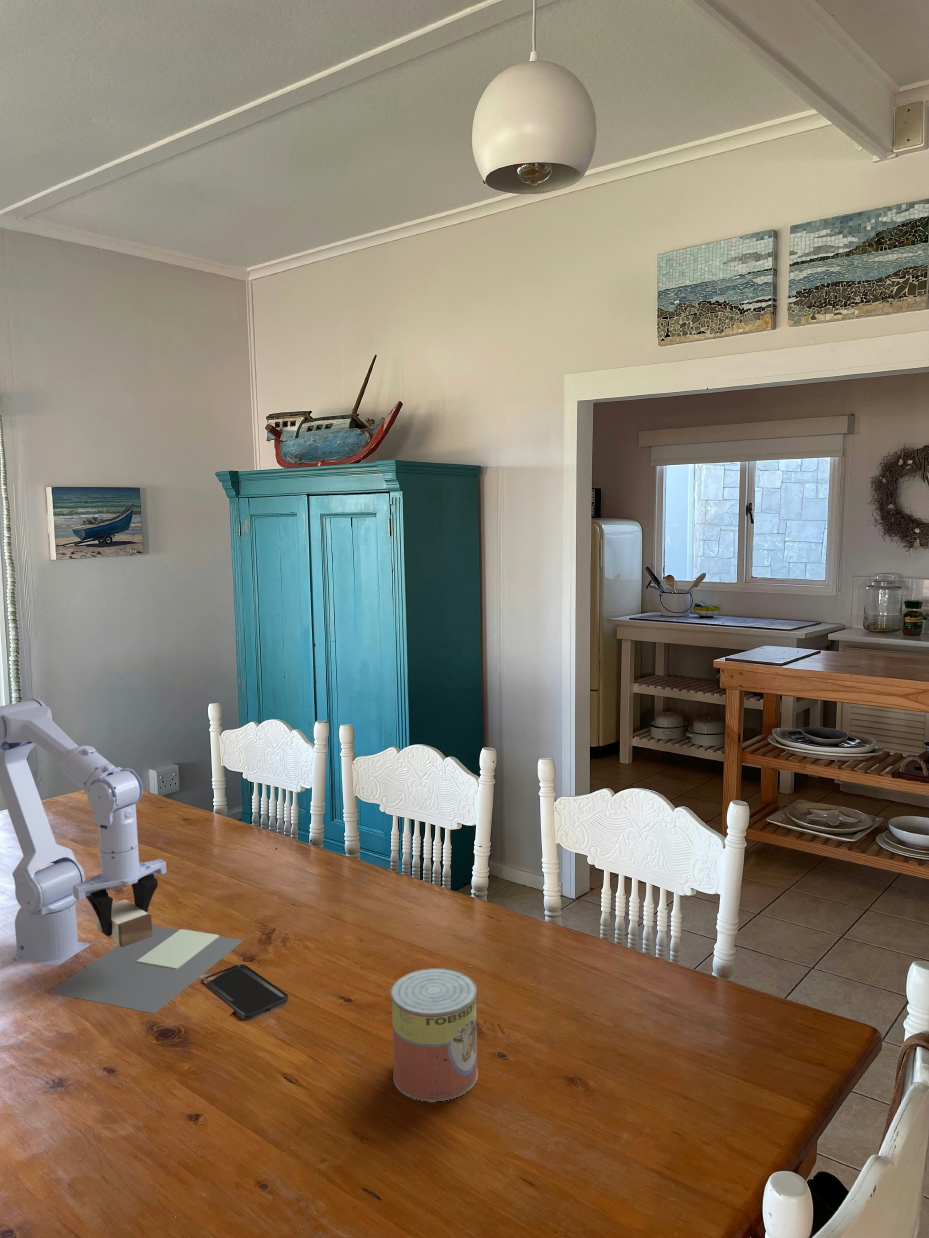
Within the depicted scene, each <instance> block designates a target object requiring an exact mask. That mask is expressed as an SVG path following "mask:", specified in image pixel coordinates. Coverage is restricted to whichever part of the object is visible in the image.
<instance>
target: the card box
mask: <svg viewBox="0 0 929 1238" xmlns="http://www.w3.org/2000/svg"><path fill="white" fill-rule="evenodd" d="M95 914H96V913H95ZM95 917H96V927H97V928H96V930H98V931H99V932H100V933H101V934H103V935H104V936H106V937H107V938H109V939H110V940H111V941H112V942H114V943H115V944H116V945H117V946H118V945H120V946H121V947H125V946H128V945H130V944H133V943H136V942H138V941H141V940H144V939H146V938H149V937H152V925H153V922H152V920H153V919H152V915H151V914H150V913H149V912H147V913H146V912H145V911H143V910H142V909H140V908H139V907H137V906H135V903H134V904H133V903H132V902H131V901H129V900H127V899H123V900H119V901H116V902H112V911H111V919H112V935H110V936H107V935H105V934H104V933H103V932H102V928H101V925H100V922H99V919H98V917H97V914H96V916H95Z"/></svg>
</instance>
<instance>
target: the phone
mask: <svg viewBox="0 0 929 1238" xmlns="http://www.w3.org/2000/svg"><path fill="white" fill-rule="evenodd" d="M216 975H218V976H216ZM214 976H216V977H214ZM211 977H214V978H212V979H211V980H210V981H208V982H206V983H205V982H204V981H205V980H206V979H209V978H211ZM200 982H201V984H202V985H204V987H206V988H208V989H209V990H210V991H211V992H212V993H214V994H215V995H216V996H218V998H220V999H221V1000H222V1001H223V1002H225V1003H226V1004H227V1005H228V1006H230V1007H231V1008H233V1009H234V1010H232V1011H233V1013H234V1014H235V1015H236V1016H238V1017H239V1018H241V1019H242V1020H244V1021H250V1020H254V1019H256V1018H258V1017H261V1016H263V1015H265V1014H267V1013H270V1012H272V1011H274V1010H276V1009H278V1008H281V1007H283V1006H285V1005H287V1004H288V1003H289V995H288V994H287V993H286V992H284V991H283V990H282V989H280V988H279V987H277V986H276V985H274V984H273V983H272V982H270V981H269V980H267V979H266V978H265V977H263V976H262V975H260V974H259V973H258V972H257V971H254V969H253V968H251V967H249V965H247V964H244V963H239V964H235V965H233V966H230V967H228V968H225V969H222V970H220V971H217V972H215V973H212V974H210V975H207V976H205V977H203V978H202V979H201V980H200Z"/></svg>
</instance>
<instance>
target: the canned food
mask: <svg viewBox="0 0 929 1238" xmlns="http://www.w3.org/2000/svg"><path fill="white" fill-rule="evenodd" d="M477 992H478V990H477V985H476V983H475V982H474V980H473V979H472V978H471V977H470V976H468V975H466V974H465V973H463V972H460V971H459V970H458V971H457V970H453V969H448V968H442V967H441V968H440V967H439V968H438V967H434V968H432V967H431V968H424V969H419V970H415V971H412V972H408V973H407V974H404V975H403V976H401V977H399V979H397V980H396V981H395V982H394V983H393V985H392V987H391V989H390V996H391V1013H392V1014H391V1015H392V1049H393V1050H392V1053H393V1055H392V1057H393V1059H392V1060H393V1074H392V1075H393V1076H392V1079H393V1083H394V1085H395V1088H397V1090H398V1091H399V1092H400V1093H401V1094H403V1095H404V1096H406V1097H408V1098H410V1097H411V1098H410V1099H412V1100H415V1101H418V1100H421V1101H420V1102H423V1101H428V1102H427V1103H437V1102H436V1101H443V1102H446V1101H445V1100H448V1101H450V1100H449V1099H452V1098H455V1099H457V1098H456V1097H458V1098H460V1097H461V1095H462V1096H464V1095H465V1094H467V1093H468V1092H469V1091H471V1089H473V1087H474V1086H475V1085H476V1082H477V1081H478V1077H479V1076H478V1075H479V1070H478V1056H477V1055H478V1050H477V1049H478V1047H477V1045H478V1043H477V1040H478V1039H477ZM474 1084H475V1085H474ZM467 1091H468V1092H467ZM466 1092H467V1093H466ZM463 1094H464V1095H463ZM459 1096H460V1097H459ZM416 1099H417V1100H416ZM452 1100H453V1099H452Z"/></svg>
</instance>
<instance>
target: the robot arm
mask: <svg viewBox="0 0 929 1238" xmlns="http://www.w3.org/2000/svg"><path fill="white" fill-rule="evenodd" d="M36 746H38V747H39V748H41V749H42V750H44V752H46V753H48V754H49V755H51V757H54V758H55V759H56V760H58V761H60V762H61V763H62V768H61V770H62V771H61V772H62V774H64V775H65V776H66V777H67V778H68V779H69V780H71V781H72V782H73V783H74V784H76V786H78V787H79V788H80V789H81V790H82V791H84V792H85V793H86V797H87V802H88V804H89V806H90V809H92V811H93V817H94V818H93V819H94V820H95V823H96V824H97V825H98V827H97V828H98V841H99V854H100V856H99V858H100V872H101V873H99V874H96V875H95V876H92V877H90V878H89V879H86V875H85V874H86V873H85V870H84V868H83V867H82V865H81V864H80V863H79V862H78V860H77V859H76V857H75V854H74V852H73V850H72V849H71V848H68V847H66V846H64V845H61V844H58V843H57V841H56V839H55V836H54V833H53V830H52V828H51V825H50V822H49V820H48V817H47V813H46V810H45V808H44V806H43V802H42V800H41V799H42V798H41V796H40V794H39V791H38V788H37V785H36V782H35V780H34V776H33V774H32V771H31V768H30V765H29V763H28V760H27V759H28V755H29V753H30V752H31V750H33V748H35V747H36ZM0 793H1V795H2V797H3V800H4V803H5V807H6V810H7V811H8V812H7V813H8V814H9V815H8V816H9V817H10V821H11V823H12V824H11V825H12V826H13V829H14V833H15V835H16V837H17V841H18V844H19V847H20V849H21V852H22V855H23V856H22V858H21V859H20V861H19V862H18V864H17V866H16V867H15V868H14V870H13V872H12V877H13V881H14V886H15V889H14V894H15V898H16V901H17V903H18V905H19V906H20V907H19V909H18V911H17V913H16V916H15V919H14V928H15V930H14V931H15V942H16V943H15V944H16V945H15V946H16V954H15V955H14V956H13V957H12V958H13V960H14V961H18V960H23V961H28V962H32V963H33V962H34V963H39V964H44V965H48V966H49V965H50V966H59V965H60V964H61V965H62V963H64V962H65V961H67V960H68V959H70V958H71V957H73V956H74V955H76V954H78V953H79V952H81V951H82V950H84V949H86V948H87V947H88V946H90V943H89V942H85V941H84V942H82V941H79V937H78V923H77V908H76V907H77V906H76V905H77V904H76V901H82V900H85V899H86V900H87V901H88V902H89V905H91V907H92V909H93V911H94V912H95V914H97V917H98V919H99V922H100V925H101V928H102V932H103V933H104V934H105V935H104V934H103V933H102V934H103V935H104V936H106V935H107V936H110V935H112V919H111V911H112V904H113V903H114V898H113V897H111V896H109V892H108V890H111V889H114V888H117V887H121V886H123V885H124V886H131V887H132V893H133V900H134V905H135V906H137V907H139V908H140V909H142V910H143V911H145V912H146V913H149V912H148V910H149V909H150V908H149V907H150V904H151V901H152V899H153V895H154V894H155V892H156V890H157V888H158V886H159V885H158V883H159V880H158V879H157V878H155V875H164V874H166V873H167V862H166V861H165V860H163V859H162V858H158V859H156V860H150V861H144V862H140V856H139V841H138V840H139V839H138V825H137V824H138V822H137V807H136V804H137V803H138V802H140V801H141V799H142V797H143V794H144V786H143V782H142V780H141V778H140V776H139V775H138V774H137V773H136V772H135V770H134V769H131V768H126V767H125V768H123V767H120V766H117V767H116V766H115V765H114V764H112V763H111V762H110V761H108V759H106V758H105V757H104V756H102V755H101V754H100V753H99V752H98V751H97V750H96V749H95V747H93V746H90V745H81V746H79V745H78V744H77V743H75V742H74V741H73V739H72V738H71V737H70V736H69V735H68V734H67V733H65V731H63V730H62V729H61V728H60V726H59V725H58V724H56V722H54V721H53V715H52V711H51V708H50V707H49V706H47V705H46V704H45V703H44V702H43V701H42V700H41V699H39V698H36V697H35V698H34V697H33V698H30V699H28V700H24V701H19V702H14V703H10V704H5V705H0ZM48 864H52V865H48ZM45 865H48V866H46V867H44V868H42V869H39V868H40V867H43V866H45ZM38 869H39V870H38ZM107 936H106V937H107Z"/></svg>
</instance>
